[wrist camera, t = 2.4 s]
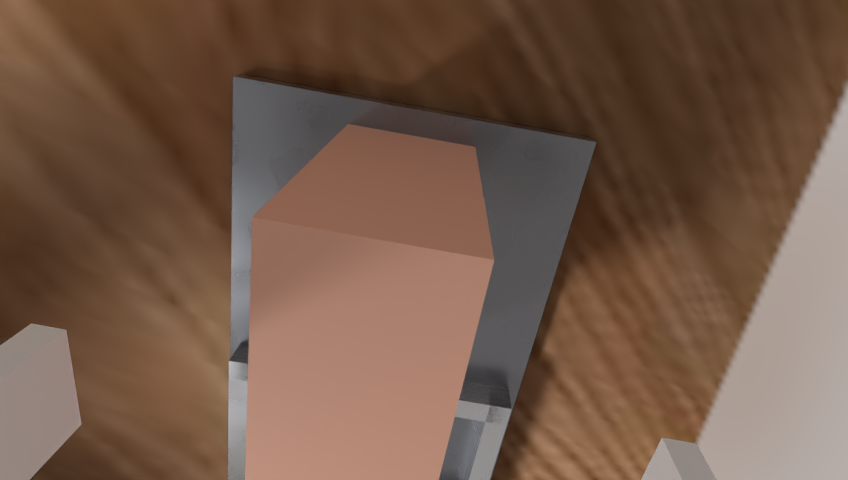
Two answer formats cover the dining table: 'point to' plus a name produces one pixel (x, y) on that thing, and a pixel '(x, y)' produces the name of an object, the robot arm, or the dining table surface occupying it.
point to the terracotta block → (365, 309)
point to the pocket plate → (507, 218)
